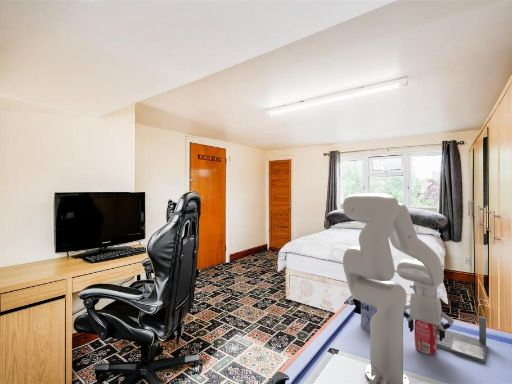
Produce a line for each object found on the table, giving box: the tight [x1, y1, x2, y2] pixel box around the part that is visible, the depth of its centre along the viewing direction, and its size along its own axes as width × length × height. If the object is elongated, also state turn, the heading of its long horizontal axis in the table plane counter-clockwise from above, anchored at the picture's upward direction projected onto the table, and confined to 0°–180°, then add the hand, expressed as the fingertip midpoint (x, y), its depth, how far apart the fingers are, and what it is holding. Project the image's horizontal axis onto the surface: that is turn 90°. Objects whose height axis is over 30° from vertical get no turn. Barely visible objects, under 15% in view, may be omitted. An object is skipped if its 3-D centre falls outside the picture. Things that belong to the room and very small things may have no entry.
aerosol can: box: [360, 301, 378, 332], centre depth 118 cm, size 8×8×20 cm
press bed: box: [436, 315, 487, 364], centre depth 104 cm, size 16×20×11 cm
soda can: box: [413, 319, 437, 355], centre depth 100 cm, size 7×7×12 cm
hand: (426, 334), depth 100 cm, fingers open, 9 cm apart
